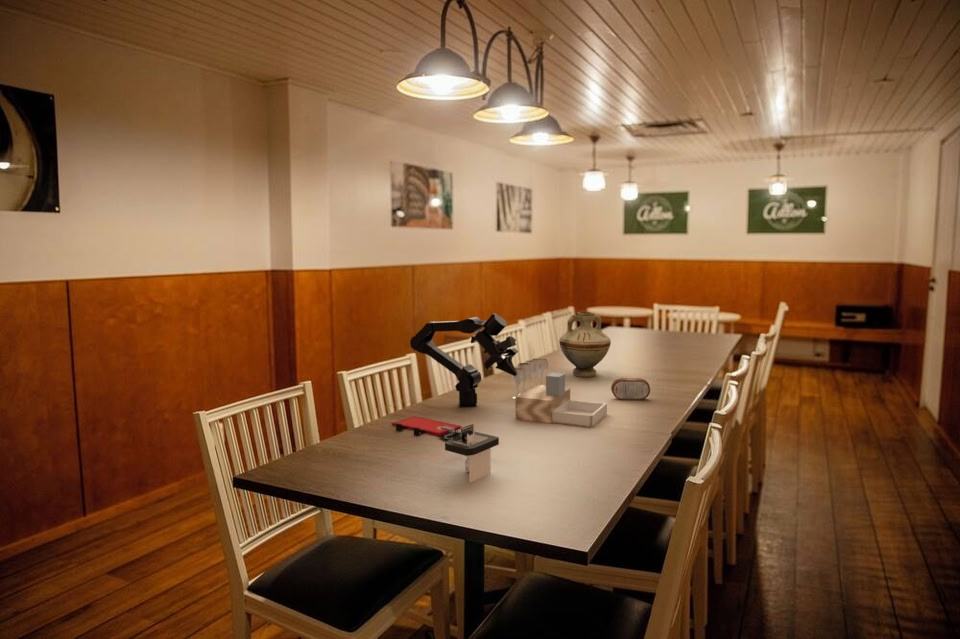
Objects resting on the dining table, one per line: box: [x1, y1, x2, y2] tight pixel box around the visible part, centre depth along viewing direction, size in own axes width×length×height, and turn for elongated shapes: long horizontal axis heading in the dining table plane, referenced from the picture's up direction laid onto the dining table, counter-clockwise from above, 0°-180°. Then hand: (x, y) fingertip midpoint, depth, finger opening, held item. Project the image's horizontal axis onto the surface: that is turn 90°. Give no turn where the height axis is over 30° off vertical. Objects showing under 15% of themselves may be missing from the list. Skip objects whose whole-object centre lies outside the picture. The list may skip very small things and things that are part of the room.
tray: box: [552, 399, 608, 428], centre depth 220 cm, size 15×18×4 cm
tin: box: [610, 377, 651, 401], centre depth 246 cm, size 15×3×8 cm, turn 84°
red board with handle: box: [391, 416, 463, 440], centre depth 209 cm, size 30×3×15 cm
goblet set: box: [511, 357, 549, 400], centre depth 261 cm, size 28×6×13 cm, turn 150°
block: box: [545, 372, 566, 396], centre depth 223 cm, size 5×6×7 cm
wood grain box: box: [514, 384, 571, 424], centre depth 226 cm, size 13×20×8 cm
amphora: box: [558, 311, 612, 378], centre depth 291 cm, size 24×24×30 cm
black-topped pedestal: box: [444, 423, 500, 483], centre depth 167 cm, size 28×26×13 cm
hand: (516, 375), depth 230 cm, fingers closed
